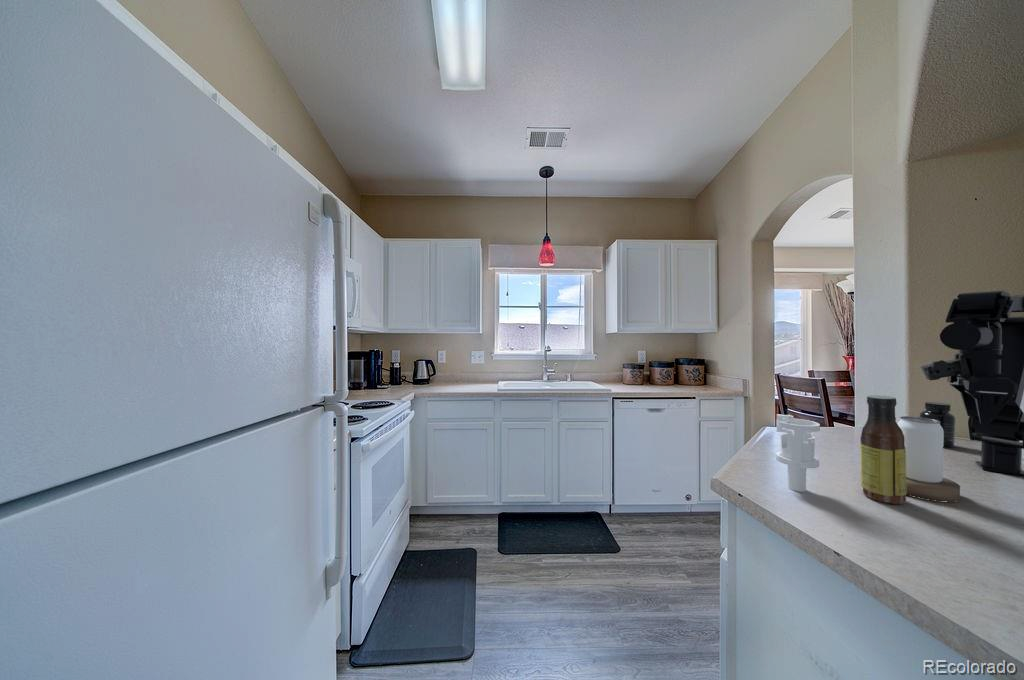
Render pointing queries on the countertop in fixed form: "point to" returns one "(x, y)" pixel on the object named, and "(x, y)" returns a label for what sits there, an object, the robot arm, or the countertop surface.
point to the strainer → (797, 449)
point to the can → (923, 449)
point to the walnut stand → (934, 490)
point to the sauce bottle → (883, 453)
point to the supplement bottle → (941, 420)
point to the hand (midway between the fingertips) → (977, 420)
